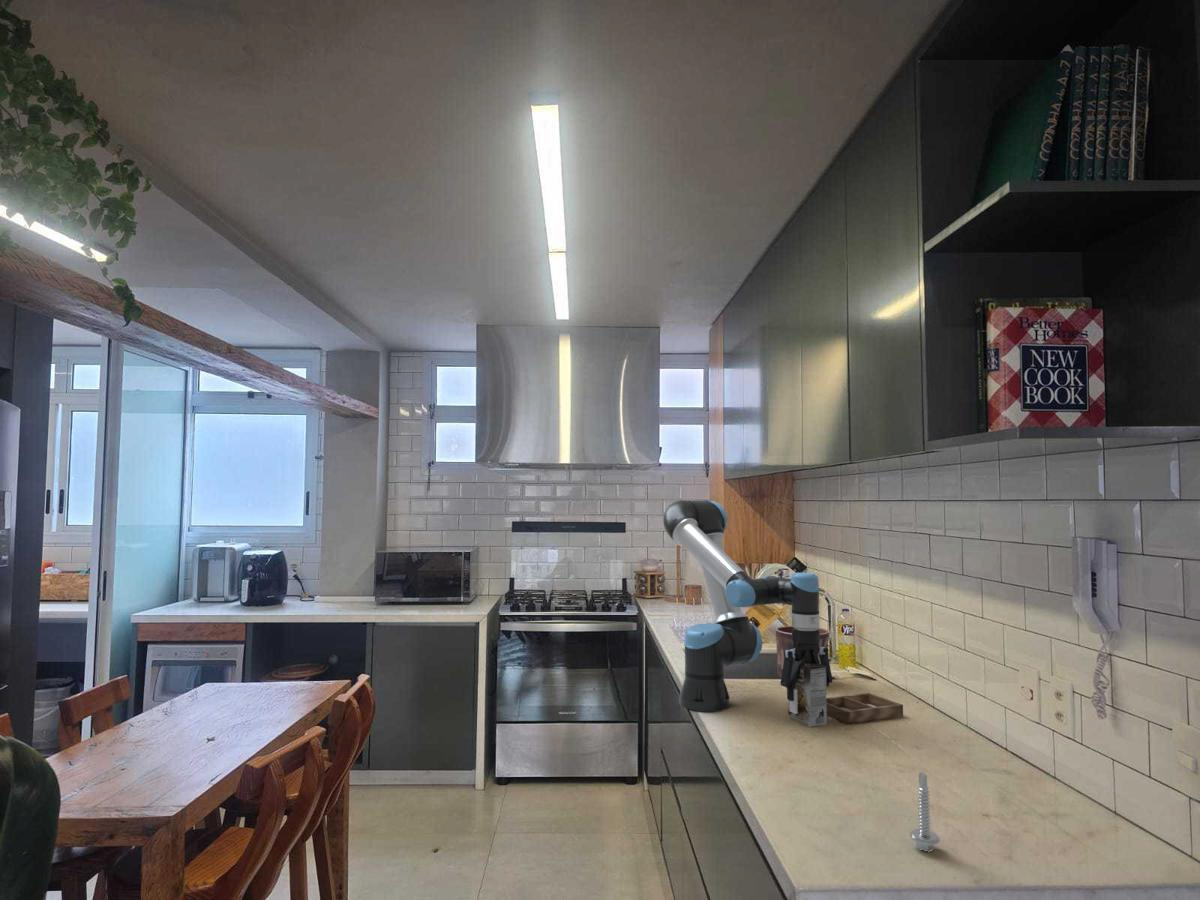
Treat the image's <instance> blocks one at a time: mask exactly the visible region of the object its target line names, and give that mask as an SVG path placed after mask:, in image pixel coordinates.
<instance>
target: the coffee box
mask: <svg viewBox="0 0 1200 900" xmlns="http://www.w3.org/2000/svg"><path fill="white" fill-rule="evenodd" d="M798 662H800V661H798ZM792 666H793V665H792ZM826 688H827V686H826V666H825V665H822V664H816V663H813V662H812V663H811V662H808V663H805V664H804V665H801V666H800V674H799V677H798V680H797V683H796V686H795V689H797V702H798V714H795V713H792V712H790V711H789V710H788V719H790V718H791V719H790V720H792V721H795V720H796V721H795V722H797V721H798V722H797V723H799V722H800V724H802V725H804V724H805V725H804V726H806V725H807V727H809V728H814V727H818V726H819V725H820V726H826V725H827V724H828V722H827V718H828V717H827V707H826V706H827V705H826V698H827V695H826ZM787 701H788V704H789V700H788V699H787ZM825 724H826V725H825ZM813 726H814V727H813Z"/></svg>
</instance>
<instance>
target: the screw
mask: <svg viewBox="0 0 1200 900" xmlns="http://www.w3.org/2000/svg"><path fill="white" fill-rule="evenodd" d="M918 785H919V786H918V787H917V789H918V790H917V793H918V794H917V796H918V798H917V799H918V801H917V803H918V805H917V810H918V821H919V822H918V824H919V825H918V827H919V828H914V829H913V830H910V832H909V837H910V839H911V840H913V841H915V843H916V845H917V846H918V847H919V849H922V850H927V851H930V850H932V849H934V850H935V848H934V847H935V845H938V844H940V843H941V837H940V836H939V835H938V834H937V833H935V832H933V831H932V830H931V829H930V828H931V822H930V821H931V818H930V817H931V815H930V814H931V812H930V809H931V808H930V806H931V804H930V797H929V796H930V794H929V793H930V790H929V786H928V775H927V774H926V773H924V772H923V771H922V772H919V773H918ZM916 845H915V846H916ZM917 846H916V847H917ZM918 847H917V848H918ZM919 849H918V850H919Z"/></svg>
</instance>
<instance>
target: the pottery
mask: <svg viewBox="0 0 1200 900" xmlns="http://www.w3.org/2000/svg"><path fill="white" fill-rule="evenodd" d="M793 628H794V627H793V626H792V625H787V626H785V625H784V626H779V627H777V628H775V641H776V672H777V674H778V676H779V678H780V679H781V677H782V670H783V664H784V650H791V649H792V648H793V645H794V643H793V641H792V629H793ZM818 630H819V631H820V643H819V647H821V646H822V647H825V648H828V649H829V641H830V632H829V630H827V629H825V628H820V627H819V628H818ZM817 656H818V659H819V661H820V658H819V653H818V655H817ZM794 657H795V655H794ZM794 657H793V660H794ZM819 664H821V663H819Z"/></svg>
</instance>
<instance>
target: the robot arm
mask: <svg viewBox="0 0 1200 900" xmlns="http://www.w3.org/2000/svg"><path fill="white" fill-rule="evenodd" d="M662 519H663V520H662V521H663V527H664V529H665V532H666V533H667V534H668V536H669V537H670V538H671V540H672V541H674V542H675V543H676V544H679V545H682V546H683V547H684V548H685V549H686V550H687V551H688V552H689V553H690V554H691V555H692V556H693V557H694V559H696V560H697V561H698V562H699V563H700V565H701V568H702V572H703V577H704V579H705V584H706V588H707V591H708V595H709V598H710V602H711V606H712V609H713V613H714V617H715V618H714V621H713V622H705V623H697V624H694V625H691V626H689V627H688V628H686V630H685V634H684V635H685V636H684V643H683V644H684V681H683V683H682V686H681V690H680V693H679V699H678V700H679V701H678V703H679V706H681V707H683V708H685V709H687V710H690V711H697V712H710V713H711V712H721V711H725V710H727V708H728V707H729V706H730V707H731V699H730V698H731V697H730V695H729V691H728V689H727V686H726V685H727V684H726V683H725V680H724V679H725V676H724V675H725V671H724V670H725V667H729V666H734V665H739V664H741V665H743V664H747V663H748V662H749V663H751V662H753V661H754V660H756V659H757V658H758V657H759V656H760V653H761V651H762V650H763V649H762V648H763V637H762V633H761V631H760V629H759V628H758V627H757V626H756V625H755V624H754V623H753V624H752V623H750V619H749V616H748V615H747V614H746V613H744V612H742V608H749V607H757V606H764V605H766V606H767V605H772V604H782V605H788V606H791V626H793V627H794V628H793V629H792V641H793V643H794V645H793V648H792V649H791V650H784V664H783V670H782V677H781V678H780V686H783V687H784V688H786V694H787V695H786V698H787V701H788V700H789V703H788V712H789V711H790V712H792V713H795V714H798V702H797V689H795V686H796V683H797V680H798V677H799V674H800V666H801V665H804V664H805V663H808V662H811V663H812V662H813V663H816V664H819V663H821V664H822V665H825V666H826V696H828V695H827V693H828V692H827V687H830V684H831V683H833V674H832V669H831V665H830V660H829V647H828V648H825V647H822V646H821V647H819V643H820V631H819V630H818V628H820V626H821V625H820V584H819V577H818V575H817V574H815V573H814V572H813V573H811V572H793V573H792V574H791V576H790V578H785V577H780V576H775V575H771V576H768V575H766V576H762V577H760V578H752V577H751V576H750V575H748V574H747V573H746V572H745V571H744V570H743V569H742V568H741V567H740V566H739V565H738V564H737V563H736V562H735V561H734V560H733V559H732V558H731V557H730V556H729V555H728V554H727V553H726V552H725V548H724V545H723V539H724V538H725V530H726V529H727V527H728V526H727V524H728V515H727V513H726V510H725V509H724V507H723V505H721V504H720V503H718V502H716V501H713V500H709V499H707V500H706V499H702V500H684V499H681V500H680V499H679V500H676V501H674V502H672V503H671V504H669V506H668V507H667V508H666V510H665V511H664V513H663V518H662ZM818 653H819V658H820V661H819V659H818V656H817V655H818ZM794 655H795V657H794ZM793 657H794V660H793ZM798 661H800V662H798ZM792 665H793V666H792ZM730 707H729V708H730ZM729 708H728V709H729Z"/></svg>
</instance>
